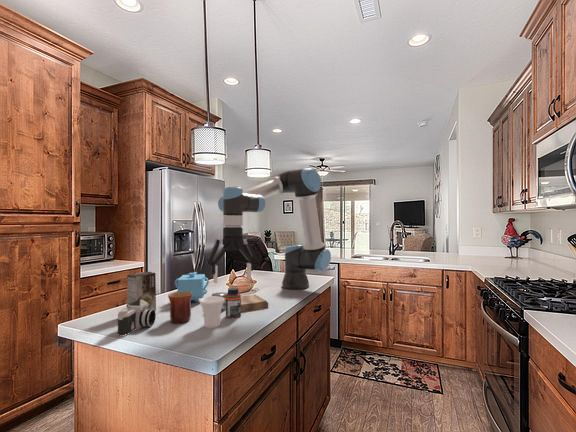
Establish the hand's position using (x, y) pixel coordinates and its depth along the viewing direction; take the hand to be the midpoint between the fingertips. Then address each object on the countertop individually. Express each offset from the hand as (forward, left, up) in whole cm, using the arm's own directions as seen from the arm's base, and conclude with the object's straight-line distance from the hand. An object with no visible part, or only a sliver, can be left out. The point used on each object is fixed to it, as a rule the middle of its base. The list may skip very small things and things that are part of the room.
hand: (232, 281), depth 122 cm
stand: (-10, -11, -14) cm, 21 cm away
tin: (+2, -12, -14) cm, 19 cm away
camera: (+33, -5, -15) cm, 37 cm away
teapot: (+8, -36, -14) cm, 39 cm away
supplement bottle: (0, 0, -14) cm, 14 cm away
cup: (+10, +6, -14) cm, 18 cm away
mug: (+19, -7, -14) cm, 24 cm away
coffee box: (+31, -24, -14) cm, 42 cm away
